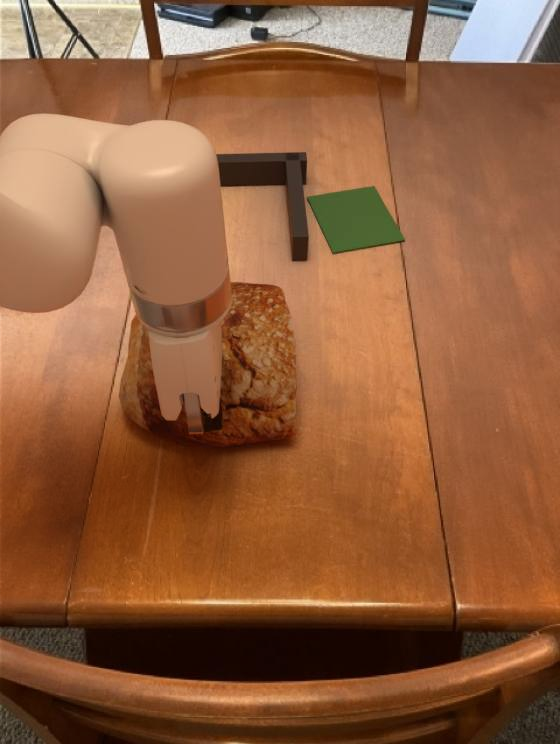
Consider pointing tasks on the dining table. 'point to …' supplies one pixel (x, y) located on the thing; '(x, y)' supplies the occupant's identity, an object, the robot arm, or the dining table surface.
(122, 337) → the dining table surface
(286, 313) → the bread
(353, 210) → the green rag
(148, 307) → the robot arm
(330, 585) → the dining table surface
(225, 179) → the corner stop
